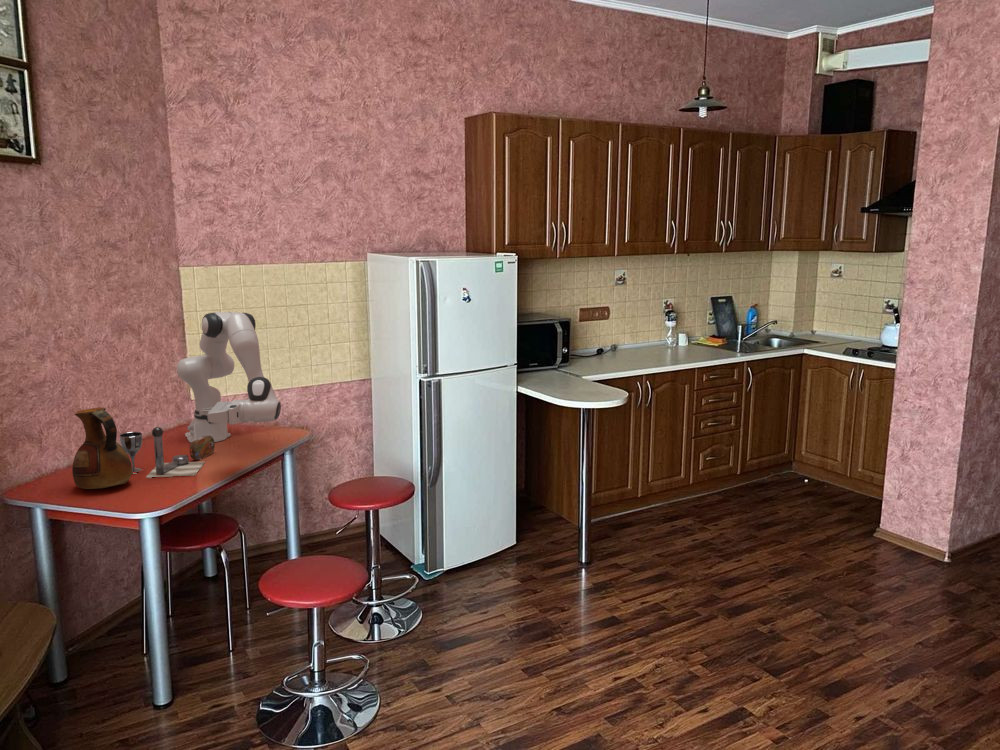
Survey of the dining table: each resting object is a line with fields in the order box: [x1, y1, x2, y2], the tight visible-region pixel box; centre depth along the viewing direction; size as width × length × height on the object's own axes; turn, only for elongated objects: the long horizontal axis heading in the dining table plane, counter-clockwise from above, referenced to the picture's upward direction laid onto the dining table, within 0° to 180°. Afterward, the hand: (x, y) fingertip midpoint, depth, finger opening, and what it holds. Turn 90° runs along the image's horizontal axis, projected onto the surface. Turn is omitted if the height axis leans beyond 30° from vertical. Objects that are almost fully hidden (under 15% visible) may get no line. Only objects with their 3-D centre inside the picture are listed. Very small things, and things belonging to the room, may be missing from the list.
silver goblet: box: [119, 431, 143, 474], centre depth 303 cm, size 8×8×15 cm
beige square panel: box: [145, 461, 206, 479], centre depth 306 cm, size 18×18×1 cm
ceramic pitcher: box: [71, 406, 133, 490], centre depth 283 cm, size 20×20×30 cm
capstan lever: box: [151, 426, 190, 474], centre depth 304 cm, size 19×6×18 cm, turn 171°
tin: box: [189, 436, 216, 461], centre depth 323 cm, size 15×3×8 cm, turn 168°
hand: (200, 411), depth 297 cm, fingers closed
